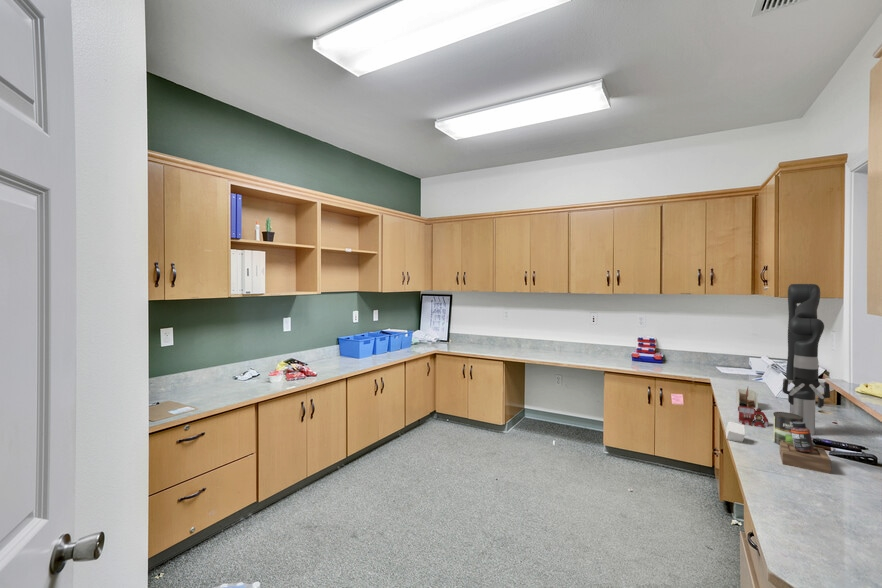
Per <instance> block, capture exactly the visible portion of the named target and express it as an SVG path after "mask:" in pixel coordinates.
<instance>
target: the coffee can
mask: <svg viewBox="0 0 882 588" xmlns="http://www.w3.org/2000/svg"><path fill="white" fill-rule="evenodd" d="M772 415H773V430H772V431H773V437H772V439H773V443H775V444H776V445H778V446H780V441H783V442H788V443H793V438H792V433H791V428H792V427H793V423H792V422H803V417H802V416H799V415H796V414H792V413H790V412H785V411H774V412H773V414H772Z"/></svg>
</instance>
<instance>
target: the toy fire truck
mask: <svg viewBox="0 0 882 588" xmlns="http://www.w3.org/2000/svg"><path fill="white" fill-rule="evenodd" d="M737 411H738V422H739V424H742V425H744V426H750V427H752V425H753V426H754V427H757V428H763V429H764V428H765V427H769V420H768V418H767V416H766V414H765V413H764V412H763V411H762V408H759V407H758V408H757V409H756V408H755V407H747V406H742V405H739V407H738V406H737Z"/></svg>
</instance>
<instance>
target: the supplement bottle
mask: <svg viewBox="0 0 882 588" xmlns="http://www.w3.org/2000/svg"><path fill="white" fill-rule="evenodd" d="M792 423H793V427H792V428H791V433H792V438H793V443H794V447H795V450H797V451H800V452H813V451H814V448H813V447H814V443H813V440H812V435H811V434H810V430H809V429H808V428H807V427H806V425H805V423H804V422H792Z"/></svg>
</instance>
